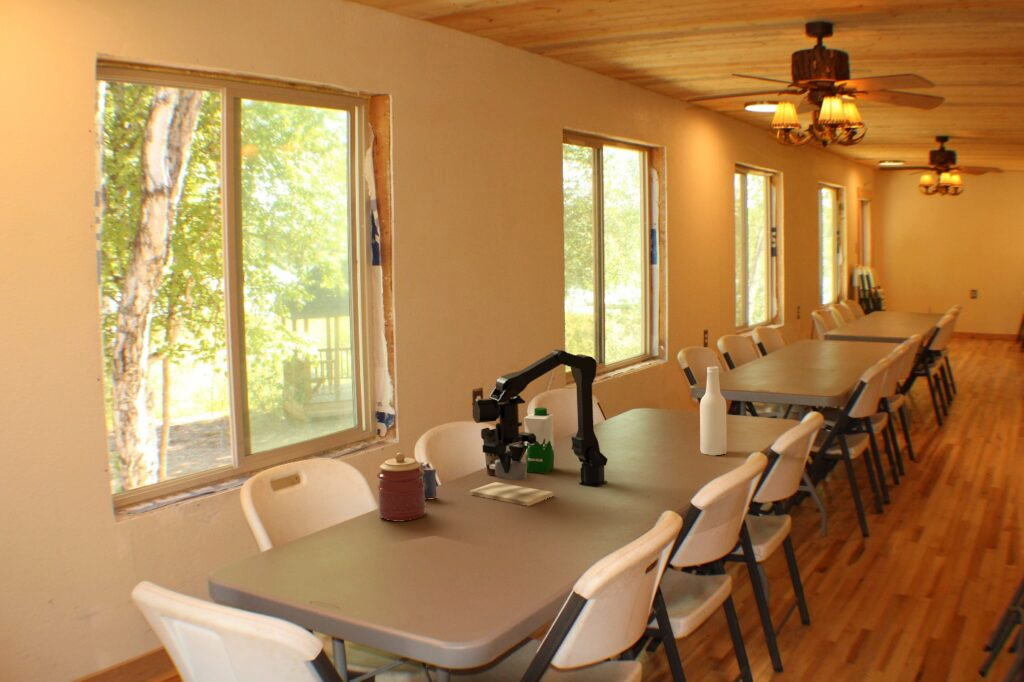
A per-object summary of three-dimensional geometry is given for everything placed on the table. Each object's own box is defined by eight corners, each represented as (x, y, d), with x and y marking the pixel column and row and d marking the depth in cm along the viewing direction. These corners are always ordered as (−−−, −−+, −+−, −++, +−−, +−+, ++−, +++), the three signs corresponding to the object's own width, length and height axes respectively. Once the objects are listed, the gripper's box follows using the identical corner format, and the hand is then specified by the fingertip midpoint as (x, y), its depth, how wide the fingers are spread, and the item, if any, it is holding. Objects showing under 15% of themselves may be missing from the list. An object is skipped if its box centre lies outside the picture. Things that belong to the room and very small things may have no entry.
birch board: (553, 496, 274) (553, 492, 274) (528, 506, 264) (528, 501, 264) (495, 485, 287) (495, 482, 287) (469, 494, 278) (469, 490, 278)
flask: (438, 497, 276) (436, 462, 275) (433, 500, 273) (432, 464, 272) (410, 495, 279) (408, 460, 278) (405, 498, 277) (403, 462, 276)
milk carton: (557, 467, 308) (555, 407, 306) (547, 474, 299) (546, 412, 297) (532, 466, 311) (530, 406, 309) (522, 472, 303) (520, 411, 301)
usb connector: (528, 477, 273) (528, 463, 273) (521, 480, 271) (520, 465, 270) (495, 472, 281) (494, 457, 281) (487, 474, 278) (487, 460, 278)
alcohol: (730, 452, 322) (729, 366, 319) (721, 457, 315) (720, 369, 312) (705, 449, 327) (705, 364, 324) (696, 455, 320) (695, 368, 317)
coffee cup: (507, 477, 297) (505, 437, 296) (481, 476, 299) (480, 436, 297) (512, 470, 306) (511, 431, 304) (487, 470, 307) (486, 431, 306)
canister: (388, 525, 250) (385, 460, 248) (372, 513, 262) (369, 451, 260) (433, 517, 256) (430, 454, 254) (415, 506, 268) (413, 445, 266)
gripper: (507, 411, 286) (509, 461, 287) (467, 422, 271) (469, 475, 273) (536, 415, 279) (538, 466, 280) (497, 426, 264) (498, 480, 266)
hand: (510, 471), depth 275 cm, fingers closed on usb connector, 4 cm apart
